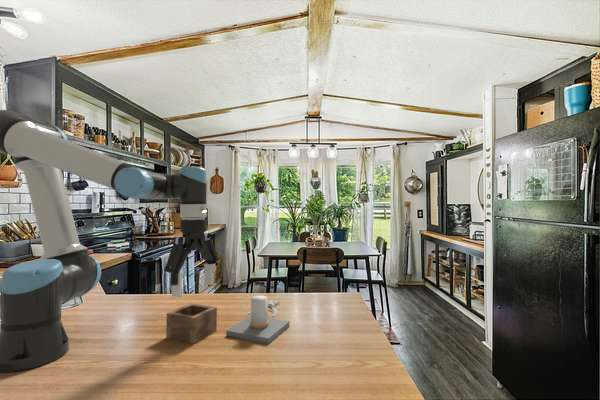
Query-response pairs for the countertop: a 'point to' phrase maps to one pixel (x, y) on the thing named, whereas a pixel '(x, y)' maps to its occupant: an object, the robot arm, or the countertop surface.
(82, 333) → the countertop surface
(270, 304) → the pliers
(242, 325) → the square plate with peg
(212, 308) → the collar
